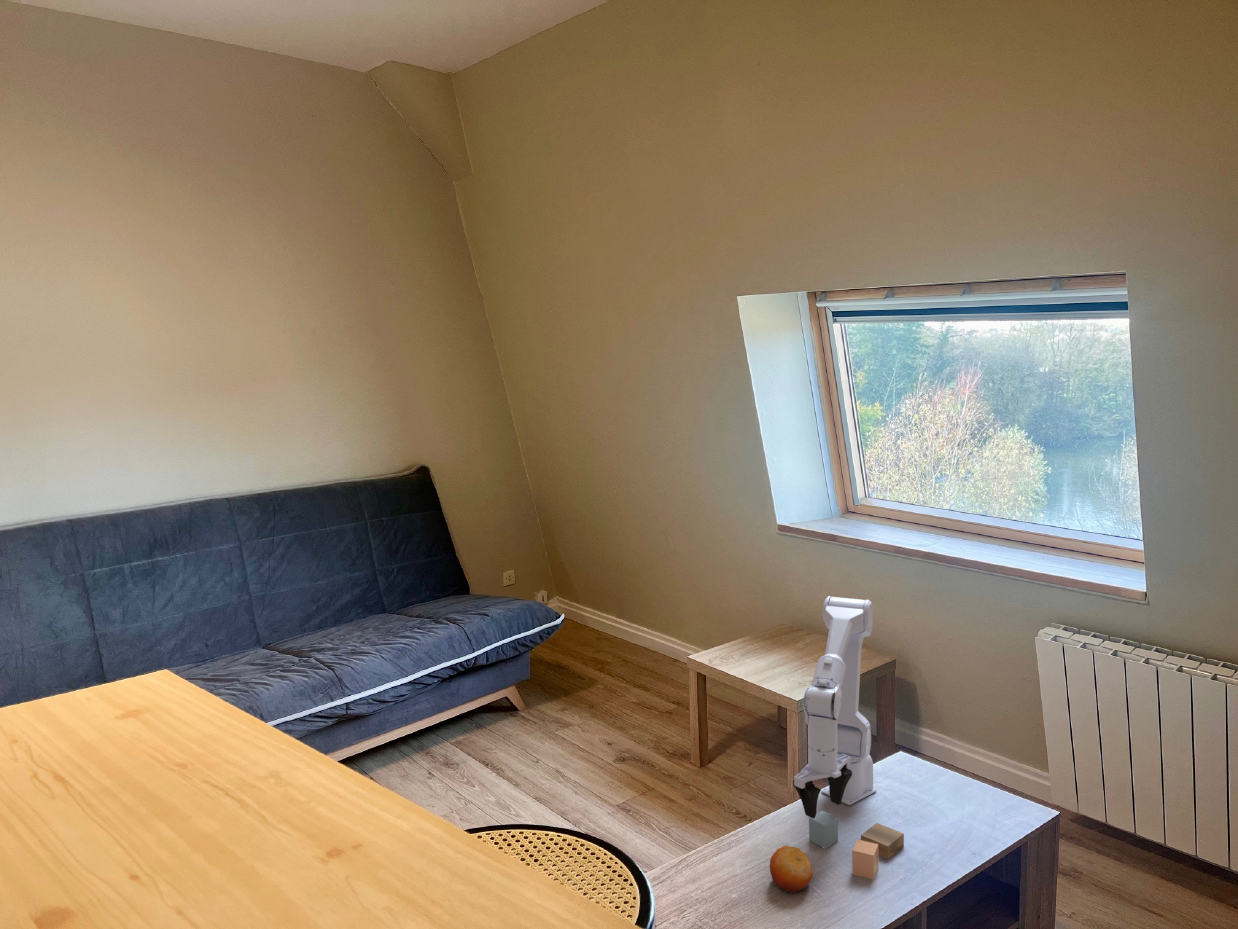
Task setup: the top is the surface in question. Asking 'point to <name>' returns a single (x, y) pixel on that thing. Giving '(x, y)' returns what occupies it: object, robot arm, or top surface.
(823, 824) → the grayish teal block
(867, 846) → the terracotta block
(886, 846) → the walnut block
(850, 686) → the robot arm
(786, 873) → the fruit
